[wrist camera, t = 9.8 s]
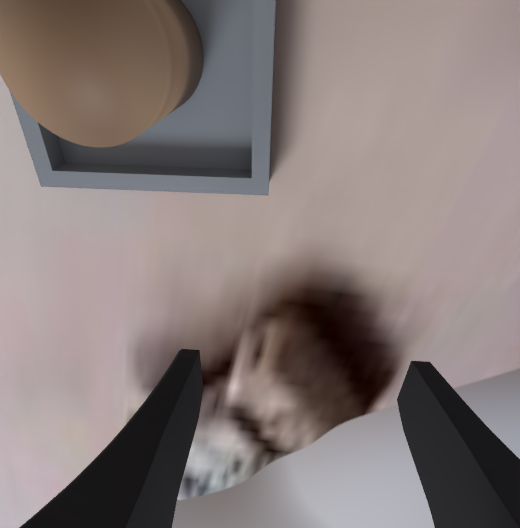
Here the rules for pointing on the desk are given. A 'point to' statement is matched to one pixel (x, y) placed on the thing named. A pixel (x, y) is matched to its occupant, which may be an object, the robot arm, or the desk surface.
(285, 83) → the desk surface
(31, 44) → the cylinder
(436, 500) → the robot arm
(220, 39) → the tray
